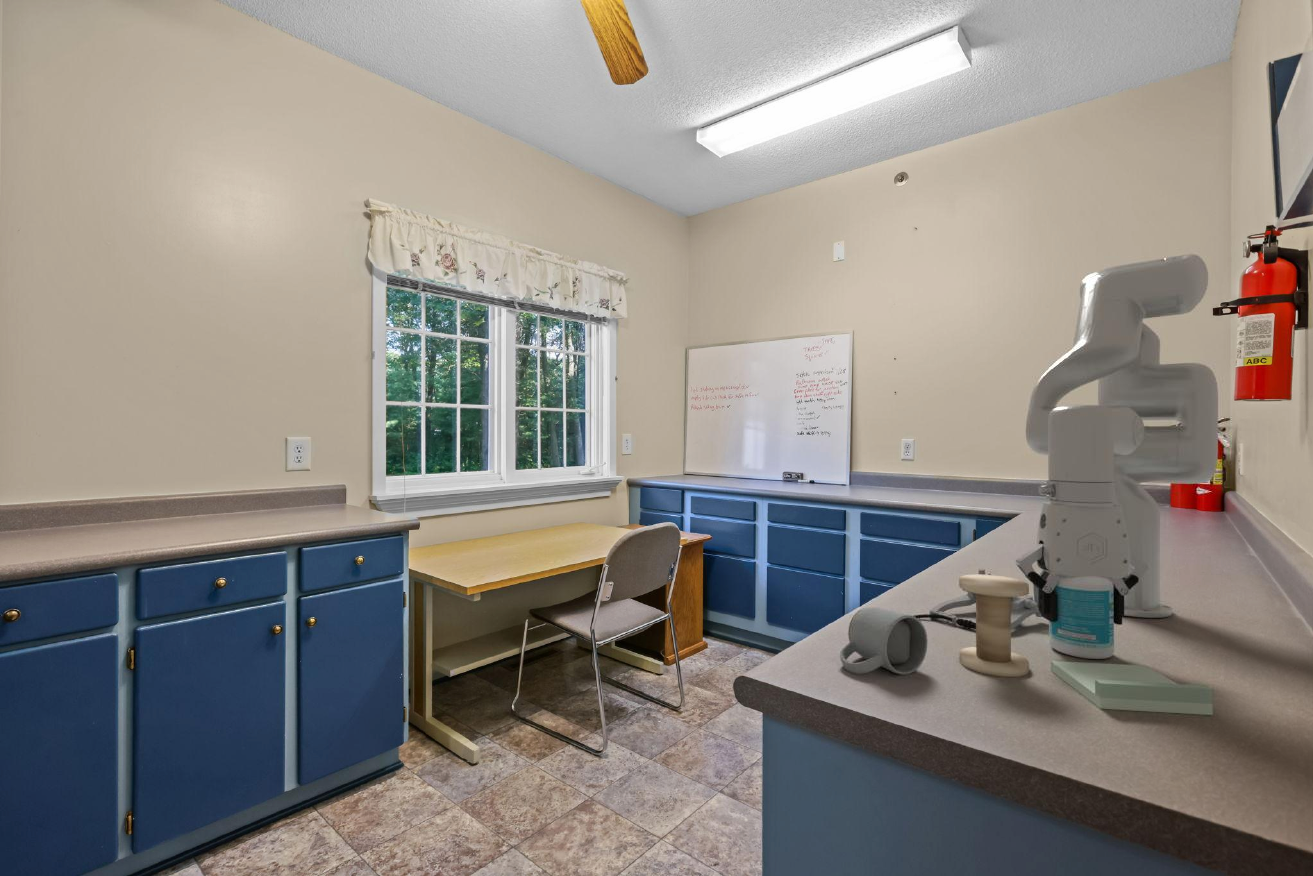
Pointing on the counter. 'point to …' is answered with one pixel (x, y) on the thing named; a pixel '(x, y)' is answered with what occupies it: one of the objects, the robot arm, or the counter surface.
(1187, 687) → the board
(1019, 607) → the bike brake
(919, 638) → the ceramic mug
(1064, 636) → the pill bottle
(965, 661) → the bobbin
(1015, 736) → the counter surface
